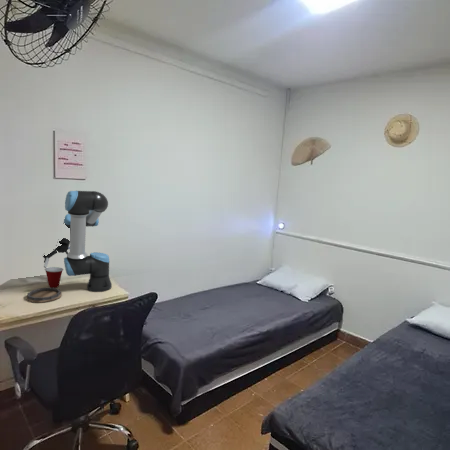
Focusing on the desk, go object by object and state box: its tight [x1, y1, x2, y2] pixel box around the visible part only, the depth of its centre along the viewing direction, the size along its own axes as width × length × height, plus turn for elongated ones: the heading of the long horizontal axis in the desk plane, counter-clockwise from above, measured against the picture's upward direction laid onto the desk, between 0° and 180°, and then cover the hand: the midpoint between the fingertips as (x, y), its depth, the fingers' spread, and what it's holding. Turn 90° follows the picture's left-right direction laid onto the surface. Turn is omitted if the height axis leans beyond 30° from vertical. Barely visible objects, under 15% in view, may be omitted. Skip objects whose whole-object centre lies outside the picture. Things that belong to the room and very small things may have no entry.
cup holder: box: [26, 287, 63, 304], centre depth 197 cm, size 18×18×3 cm
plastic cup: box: [44, 266, 64, 288], centre depth 214 cm, size 11×11×12 cm
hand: (55, 267), depth 216 cm, fingers open, 13 cm apart
